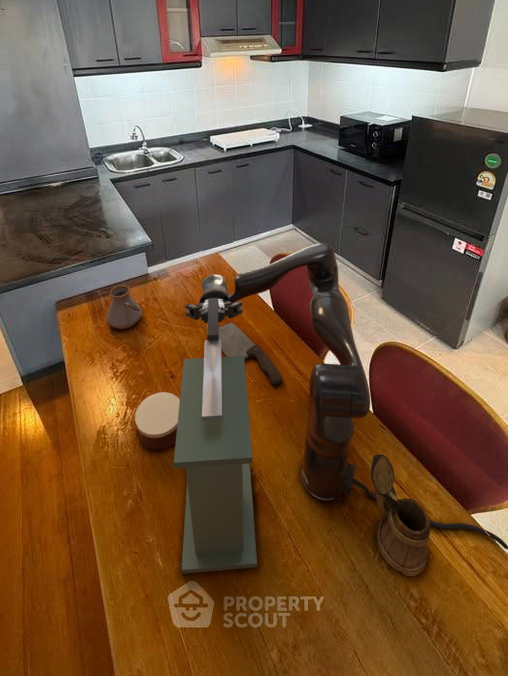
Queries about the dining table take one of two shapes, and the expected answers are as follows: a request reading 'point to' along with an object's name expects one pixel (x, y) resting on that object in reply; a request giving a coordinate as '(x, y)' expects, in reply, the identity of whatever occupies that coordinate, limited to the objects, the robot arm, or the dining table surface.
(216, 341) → the knife
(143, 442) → the cake
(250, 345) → the cleaver
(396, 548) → the wooden mug
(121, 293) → the coffee pot
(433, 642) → the dining table surface
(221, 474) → the display stand
